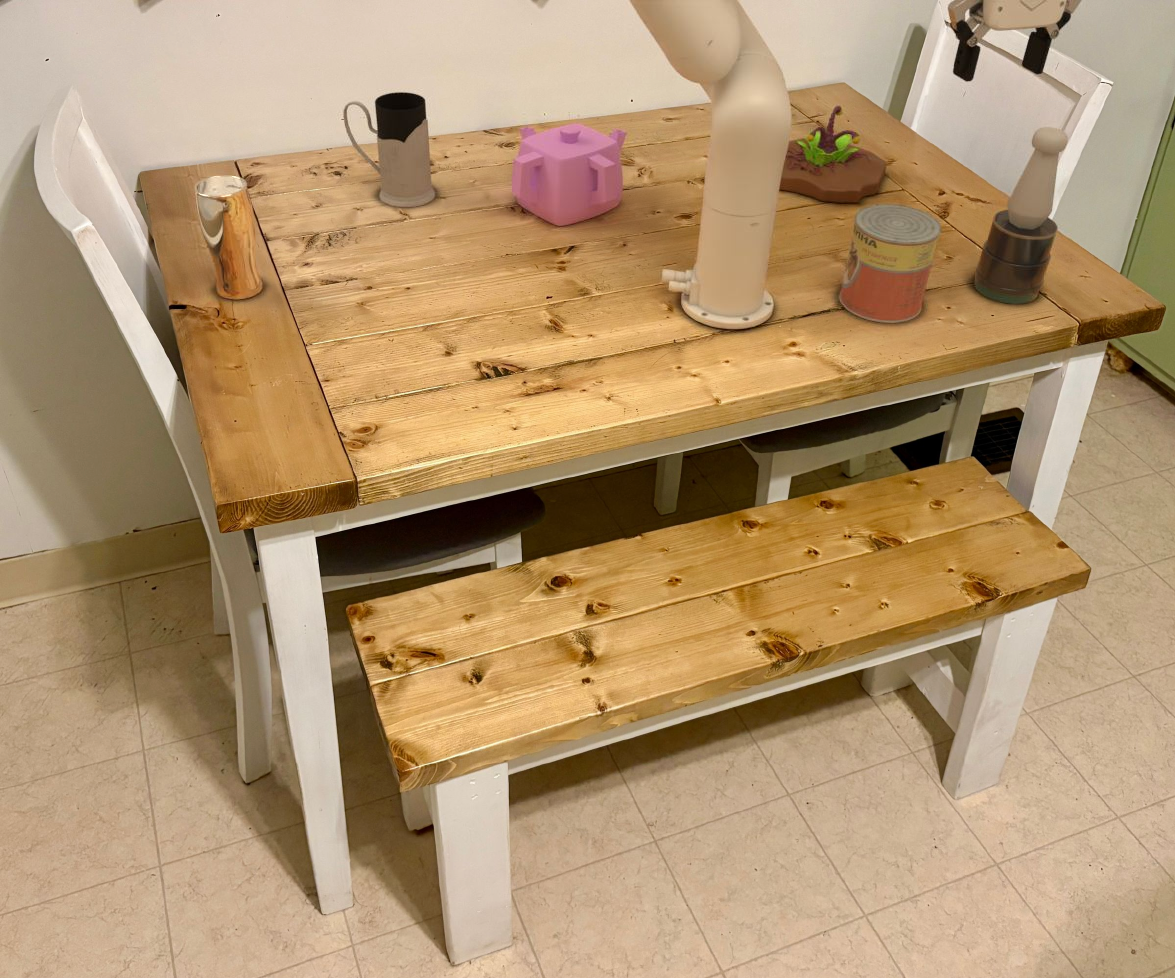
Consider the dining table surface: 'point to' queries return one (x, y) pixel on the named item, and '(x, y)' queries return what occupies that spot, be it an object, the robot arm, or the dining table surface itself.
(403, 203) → the glass holder
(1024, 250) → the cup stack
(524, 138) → the teakettle
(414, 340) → the dining table surface
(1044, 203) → the salt shaker
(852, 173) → the plant
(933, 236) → the canned food
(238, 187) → the beer glass
